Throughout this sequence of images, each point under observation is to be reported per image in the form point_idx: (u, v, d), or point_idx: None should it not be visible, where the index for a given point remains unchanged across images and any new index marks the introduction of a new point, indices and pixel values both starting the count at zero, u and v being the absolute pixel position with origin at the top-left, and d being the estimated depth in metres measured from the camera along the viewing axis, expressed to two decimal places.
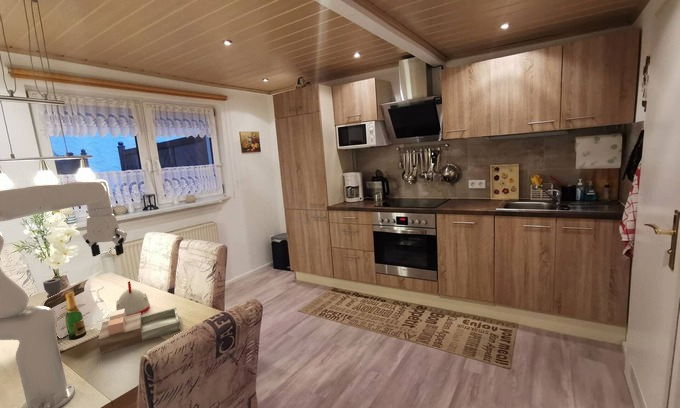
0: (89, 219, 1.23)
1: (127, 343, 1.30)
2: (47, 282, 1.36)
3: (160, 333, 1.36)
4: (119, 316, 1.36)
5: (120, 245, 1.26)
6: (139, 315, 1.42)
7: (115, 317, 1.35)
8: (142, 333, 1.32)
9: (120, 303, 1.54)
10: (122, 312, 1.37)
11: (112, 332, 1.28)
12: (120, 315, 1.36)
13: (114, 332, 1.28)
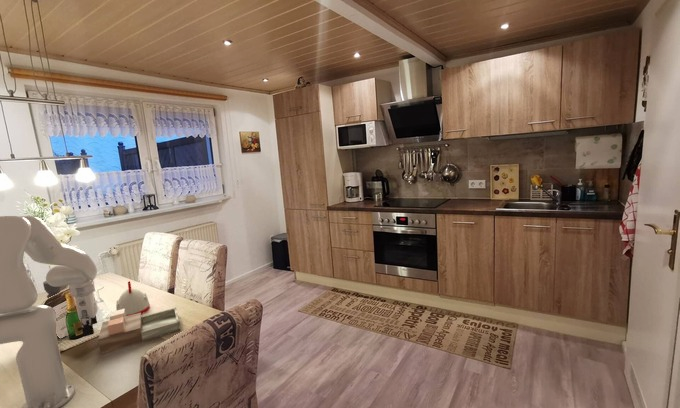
0: (90, 295, 1.26)
1: (127, 343, 1.30)
2: None
3: (160, 333, 1.36)
4: (119, 316, 1.36)
5: None
6: (139, 315, 1.42)
7: (115, 317, 1.35)
8: (142, 333, 1.32)
9: (120, 303, 1.54)
10: (122, 312, 1.37)
11: (112, 332, 1.28)
12: (120, 315, 1.36)
13: (114, 332, 1.28)
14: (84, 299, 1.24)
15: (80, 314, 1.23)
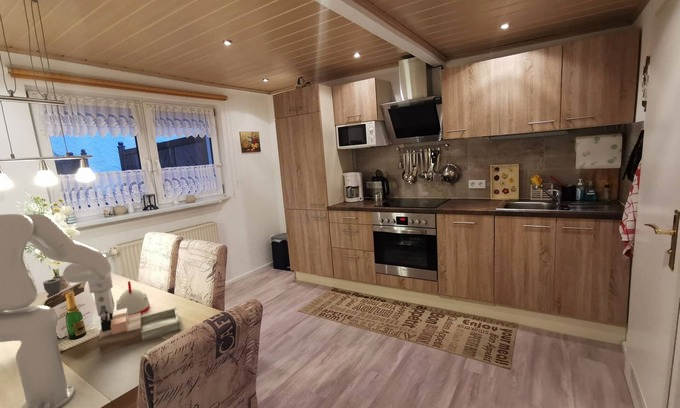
0: (108, 291, 1.29)
1: (127, 343, 1.30)
2: (47, 282, 1.36)
3: (160, 333, 1.36)
4: (121, 315, 1.36)
5: None
6: (139, 315, 1.42)
7: (117, 316, 1.36)
8: (142, 333, 1.32)
9: (120, 303, 1.54)
10: (124, 311, 1.38)
11: (115, 331, 1.28)
12: (122, 314, 1.37)
13: (117, 331, 1.28)
14: (103, 295, 1.27)
15: (99, 310, 1.26)
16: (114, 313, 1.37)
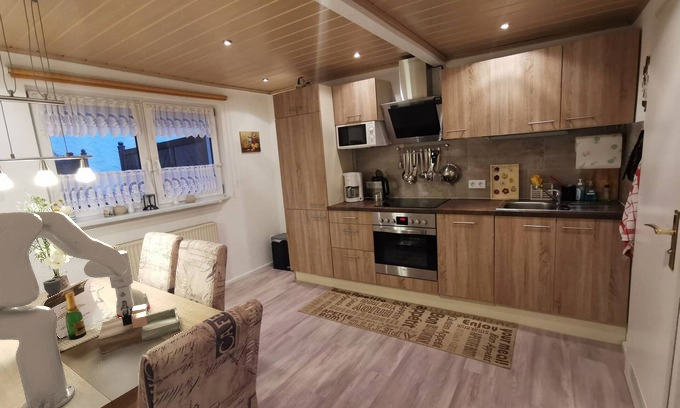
0: (129, 286, 1.33)
1: (127, 343, 1.30)
2: (47, 282, 1.36)
3: (160, 333, 1.36)
4: (140, 311, 1.40)
5: None
6: None
7: (137, 312, 1.39)
8: (142, 333, 1.32)
9: None
10: (144, 307, 1.41)
11: (136, 325, 1.32)
12: (141, 310, 1.40)
13: (138, 325, 1.32)
14: (124, 290, 1.30)
15: (120, 304, 1.30)
16: (134, 308, 1.40)
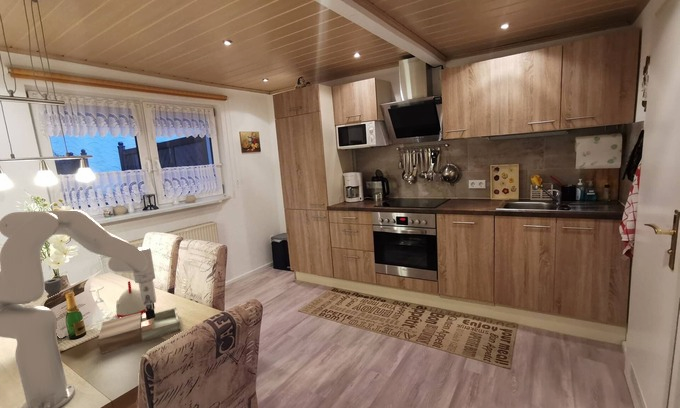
0: (152, 281, 1.37)
1: (127, 343, 1.30)
2: (47, 282, 1.36)
3: (160, 333, 1.36)
4: None
5: None
6: (139, 315, 1.42)
7: None
8: (142, 333, 1.32)
9: (120, 303, 1.54)
10: None
11: (143, 329, 1.33)
12: None
13: (143, 330, 1.33)
14: (147, 285, 1.34)
15: (144, 299, 1.34)
16: None
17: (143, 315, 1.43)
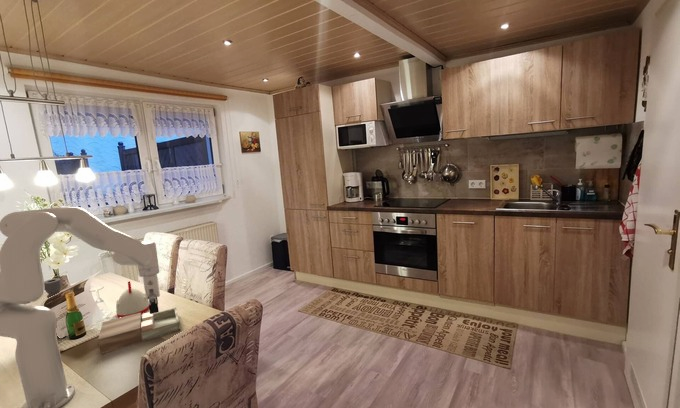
0: (156, 275, 1.37)
1: (127, 343, 1.30)
2: (47, 282, 1.36)
3: (160, 333, 1.36)
4: None
5: None
6: (139, 315, 1.42)
7: None
8: (142, 333, 1.32)
9: (120, 303, 1.54)
10: None
11: (143, 329, 1.33)
12: None
13: (143, 330, 1.33)
14: (152, 279, 1.35)
15: (148, 293, 1.34)
16: (152, 315, 1.44)
17: (143, 315, 1.43)
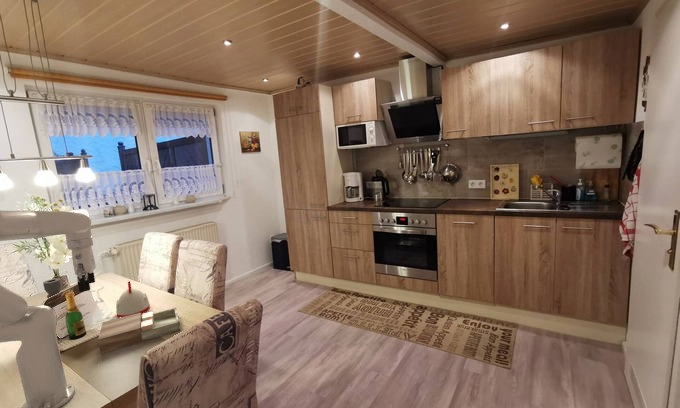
0: (87, 249, 1.20)
1: (127, 343, 1.30)
2: (47, 282, 1.36)
3: (160, 333, 1.36)
4: None
5: None
6: (139, 315, 1.42)
7: None
8: (142, 333, 1.32)
9: (120, 303, 1.54)
10: None
11: (143, 329, 1.33)
12: None
13: (143, 330, 1.33)
14: (81, 252, 1.18)
15: (76, 268, 1.17)
16: (152, 315, 1.44)
17: (143, 315, 1.43)
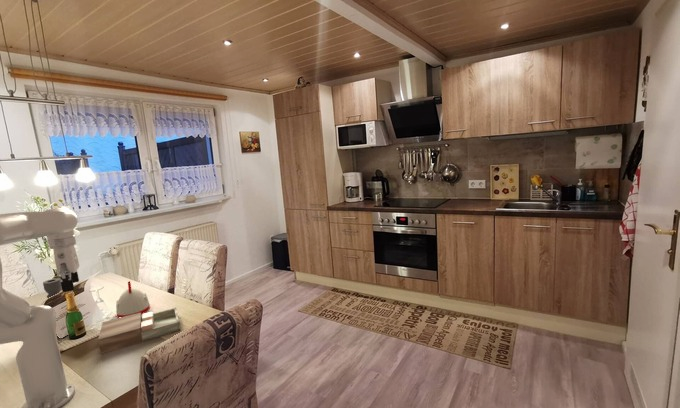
0: (70, 248, 1.17)
1: (127, 343, 1.30)
2: (47, 282, 1.36)
3: (160, 333, 1.36)
4: None
5: None
6: (139, 315, 1.42)
7: None
8: (142, 333, 1.32)
9: (120, 303, 1.54)
10: None
11: (143, 329, 1.33)
12: None
13: (143, 330, 1.33)
14: (63, 251, 1.14)
15: (59, 267, 1.14)
16: (152, 315, 1.44)
17: (143, 315, 1.43)
